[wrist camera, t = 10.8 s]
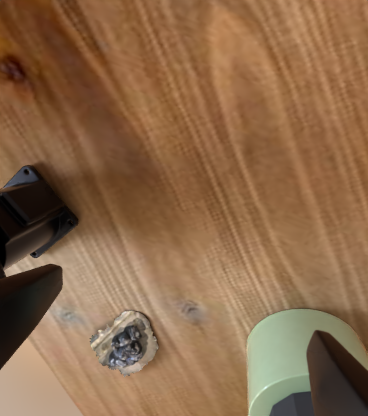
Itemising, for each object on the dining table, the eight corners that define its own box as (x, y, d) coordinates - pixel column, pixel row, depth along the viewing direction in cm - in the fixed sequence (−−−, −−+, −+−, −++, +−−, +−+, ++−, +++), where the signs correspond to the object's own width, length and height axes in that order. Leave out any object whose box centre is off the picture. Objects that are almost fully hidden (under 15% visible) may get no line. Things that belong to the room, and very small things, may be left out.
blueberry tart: (86, 349, 28) (76, 364, 26) (106, 295, 25) (96, 308, 23) (142, 378, 28) (136, 395, 26) (170, 326, 25) (164, 342, 23)
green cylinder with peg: (283, 406, 25) (305, 549, 17) (224, 334, 24) (217, 451, 15) (386, 374, 22) (479, 533, 13) (325, 289, 20) (385, 406, 12)
